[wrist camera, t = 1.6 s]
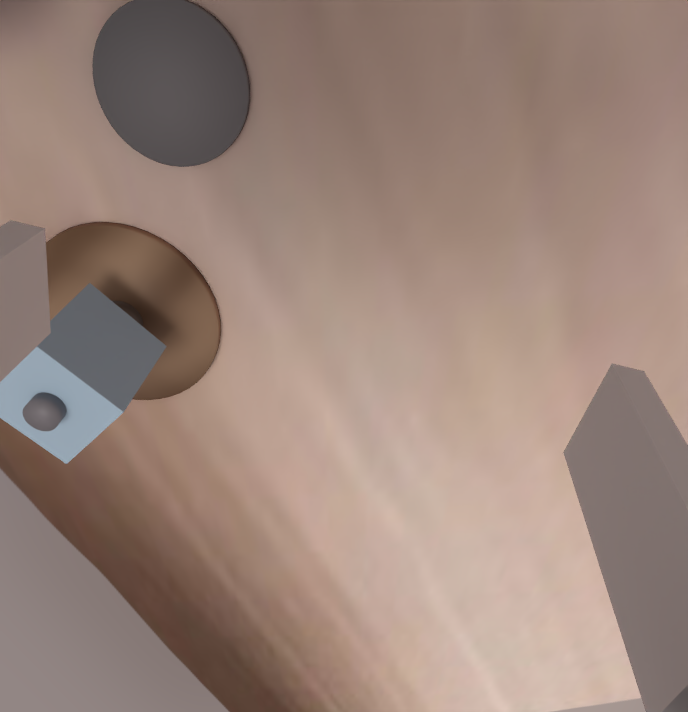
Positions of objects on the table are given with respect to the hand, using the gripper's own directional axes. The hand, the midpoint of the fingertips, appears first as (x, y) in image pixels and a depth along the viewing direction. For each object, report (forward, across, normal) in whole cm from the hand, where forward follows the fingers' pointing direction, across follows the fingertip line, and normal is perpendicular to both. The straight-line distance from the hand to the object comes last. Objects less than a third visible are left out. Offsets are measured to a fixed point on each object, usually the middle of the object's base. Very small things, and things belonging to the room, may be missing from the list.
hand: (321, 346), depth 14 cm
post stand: (+25, -15, -17) cm, 34 cm away
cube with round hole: (+21, -14, -17) cm, 31 cm away
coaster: (+25, -12, 0) cm, 28 cm away
